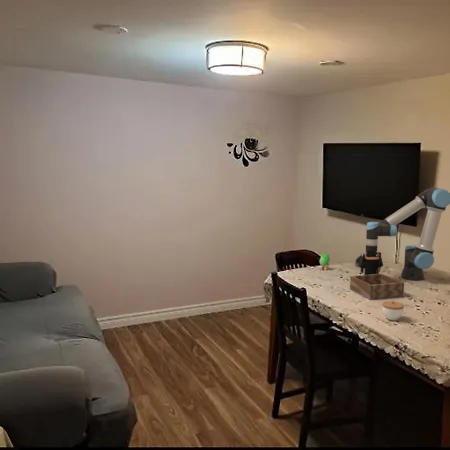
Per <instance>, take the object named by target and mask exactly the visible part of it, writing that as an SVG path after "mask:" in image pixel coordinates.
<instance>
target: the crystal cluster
mask: <svg viewBox="0 0 450 450" xmlns="http://www.w3.org/2000/svg"><path fill="white" fill-rule="evenodd" d="M360 259H361V255H359V256H358V257H357V258H356V259H355V264H354V265H355V267H356V268H359V267H358V265H359V262H360Z"/></svg>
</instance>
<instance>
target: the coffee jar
mask: <svg viewBox="0 0 450 450" xmlns="http://www.w3.org/2000/svg"><path fill="white" fill-rule="evenodd" d="M363 262H364V263H365V267H364V268H365V275H371V274H380V272H379V257H378V256H377V255H376V257H366V255H365V258H364V261H363Z"/></svg>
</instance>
